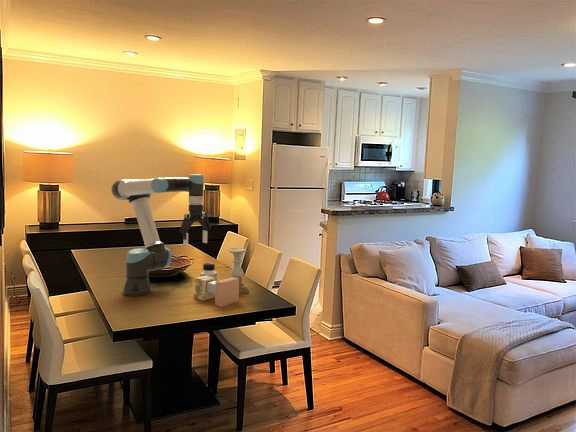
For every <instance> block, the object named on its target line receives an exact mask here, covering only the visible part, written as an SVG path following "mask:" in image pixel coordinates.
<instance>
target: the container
mask: <svg viewBox="0 0 576 432" xmlns="http://www.w3.org/2000/svg"><path fill="white" fill-rule="evenodd" d="M215 266H216V264H214V263H213V262H206V263H203V265H202V270H203V271H202V272H201V273H199V275H200V276H199V277H202V276H210V277H214V278H215V281H218V271H215Z"/></svg>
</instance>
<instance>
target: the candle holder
mask: <svg viewBox="0 0 576 432" xmlns="http://www.w3.org/2000/svg"><path fill="white" fill-rule="evenodd" d="M228 252H229V253H232V255H233V259H232V262H233V266H232V269H230V273H229V274H230V277H235V278H239V295H243V294H244V295H245V294H249V293H250V289H249V288H248V286H247V285H245V283H243V278H242V277H243V276H244V270H243V268H242V267H241V263H242V262H243V260H242V259H241V257H242V255H243V254H244V253H246V252H247V248H241V247H237V248H236V247H234V248H228Z"/></svg>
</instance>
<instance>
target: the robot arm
mask: <svg viewBox="0 0 576 432" xmlns="http://www.w3.org/2000/svg"><path fill="white" fill-rule="evenodd" d="M204 183H205V179H204V175H203V174H201V173H197V174H196V173H195V174H194V173H192V174H191V173H190V174H189V175H188V177H183V176H175V177H173V176H172V177H170V176H169V177H162V176H160V177H155V178H147V179H141V178H135V179H134V178H133V179H131V178H130V179H129V178H127V179H123V178H122V179H118V180H116V181H114V183H113V184H112V185H111V193H112V194H111V195H113V197H114V198H115V199H118V200H120V201H128V203H129V206H132V207H133V211H134V214H135V216H136V217H135V218H136V221H137V223H138V226H139V230H140V233H141V236H142V240H143V242H144V243H143V244H144V247H139V248H133V249H131V250H129V251H127V253H126V255H125V257H126V258H125V270H126V271H125V272H126V273H125V281H124V284H123V287H122V294H123V295H125V296H130V297H131V296H132V297H139V296H140V297H141V296H146V295H149V294H151V293H152V292H153V287H152V284H151V281H150V277H149V274H150V273H149V272H152V271H157V270H163V269H165V268H168V267H169V266H170V265H171V262H172V261H173V254H172V251H171V249H170V248H169V247H166V245H165V243H164V242H162V241H161V240H160V237H159V233H158V229H157V226H156V223H155V220H154V217H153V213H152V209H151V208H150V207H151V206H150V203H149V202H150V200H151V196H152V194H160V193H161V194H162V193H174V192H175V193H178V192H186V193H188V213H184V217H183V221H182V223H181V226H180V228H179V230H178V232H179V233H181V234H182V240H183V246H184V247H189V233H188V232H189V230H190V228H192V225H193V224H194V223H197V222H198V223H199V224H200V226H201V227H202V229H203V230H202V243H204V244H208V237H209V231H210V230H211V229H212V226H211V223H210V221H209V218H208V212H204Z"/></svg>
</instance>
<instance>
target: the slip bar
mask: <svg viewBox="0 0 576 432" xmlns="http://www.w3.org/2000/svg"><path fill="white" fill-rule="evenodd" d="M206 292H210V293H214V294H215V292H216V281H213V280H211V281H207V282H206Z"/></svg>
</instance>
